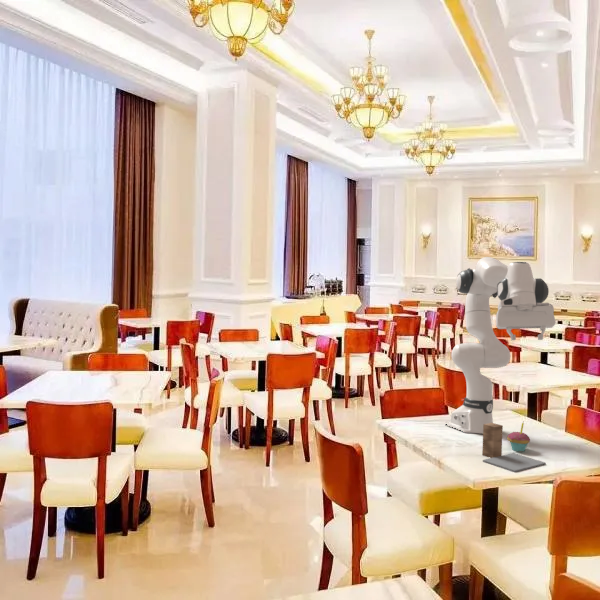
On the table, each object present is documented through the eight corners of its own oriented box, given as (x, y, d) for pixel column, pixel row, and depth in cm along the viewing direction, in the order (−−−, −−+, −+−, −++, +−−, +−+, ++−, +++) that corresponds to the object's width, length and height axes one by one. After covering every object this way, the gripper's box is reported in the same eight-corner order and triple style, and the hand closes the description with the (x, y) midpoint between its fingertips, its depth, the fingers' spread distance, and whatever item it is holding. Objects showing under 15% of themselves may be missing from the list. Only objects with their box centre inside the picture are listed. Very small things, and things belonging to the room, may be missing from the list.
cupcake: (534, 451, 240) (535, 421, 240) (519, 454, 236) (520, 423, 235) (516, 445, 248) (517, 416, 247) (502, 448, 243) (503, 418, 243)
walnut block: (481, 455, 234) (482, 424, 233) (490, 453, 236) (491, 422, 236) (492, 458, 229) (494, 427, 229) (501, 456, 232) (502, 425, 232)
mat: (482, 461, 225) (482, 459, 225) (513, 454, 235) (513, 452, 235) (514, 472, 214) (514, 470, 214) (545, 464, 224) (545, 462, 224)
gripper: (550, 305, 223) (555, 341, 219) (493, 306, 226) (496, 342, 222) (555, 299, 218) (559, 336, 213) (496, 301, 220) (499, 338, 216)
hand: (527, 339), depth 217 cm, fingers open, 8 cm apart
